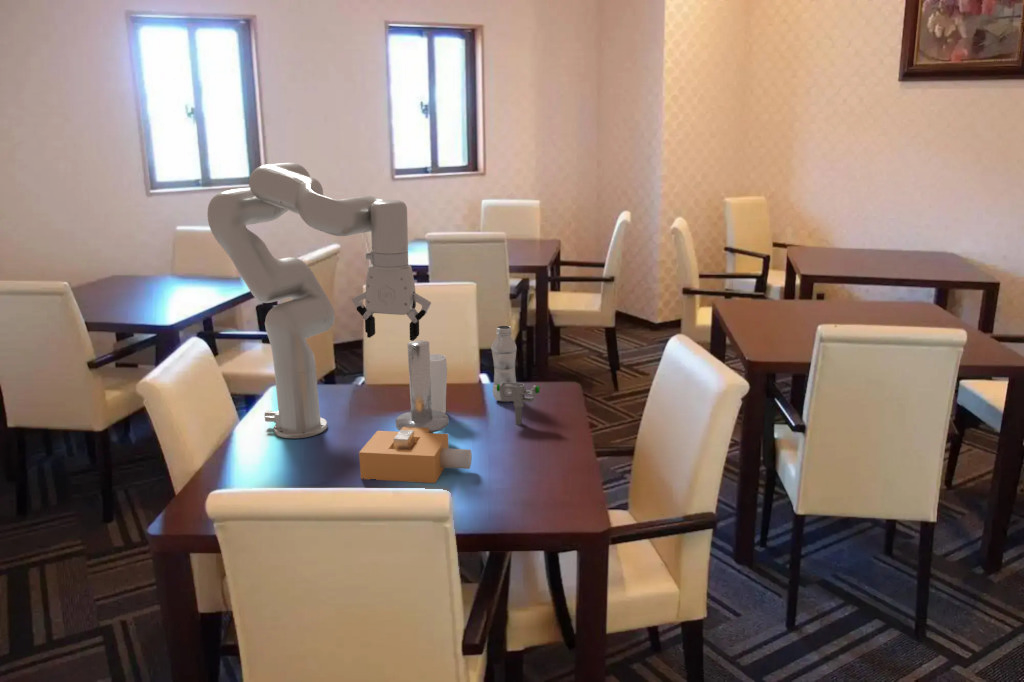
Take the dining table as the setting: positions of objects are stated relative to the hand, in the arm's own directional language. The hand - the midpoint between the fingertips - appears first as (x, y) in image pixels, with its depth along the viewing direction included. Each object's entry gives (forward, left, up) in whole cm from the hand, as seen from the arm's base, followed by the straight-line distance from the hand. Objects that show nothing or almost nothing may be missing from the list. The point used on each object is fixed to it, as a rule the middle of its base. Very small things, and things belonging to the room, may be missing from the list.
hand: (392, 337), depth 175 cm
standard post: (+4, +5, -27) cm, 27 cm away
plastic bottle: (+18, +36, -27) cm, 48 cm away
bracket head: (+7, -8, -27) cm, 29 cm away
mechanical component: (+24, +20, -27) cm, 41 cm away
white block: (+4, -9, -27) cm, 28 cm away
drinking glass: (+2, +24, -27) cm, 36 cm away
